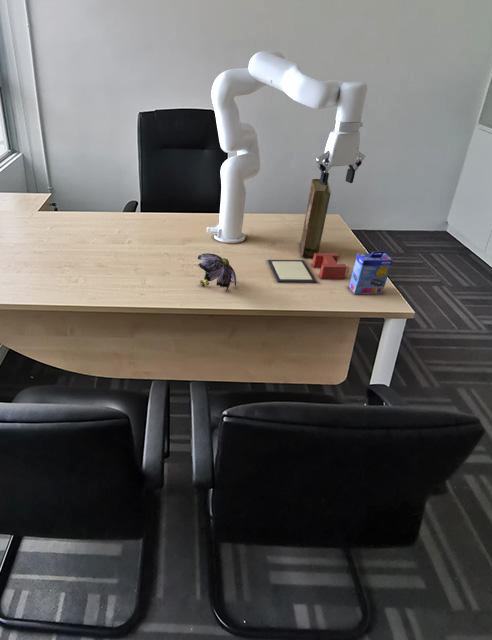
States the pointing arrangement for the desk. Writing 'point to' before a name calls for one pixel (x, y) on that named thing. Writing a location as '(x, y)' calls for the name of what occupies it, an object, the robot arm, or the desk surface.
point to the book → (315, 218)
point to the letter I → (329, 266)
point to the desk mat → (291, 271)
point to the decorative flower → (217, 270)
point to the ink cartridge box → (370, 273)
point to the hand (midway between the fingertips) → (336, 183)
